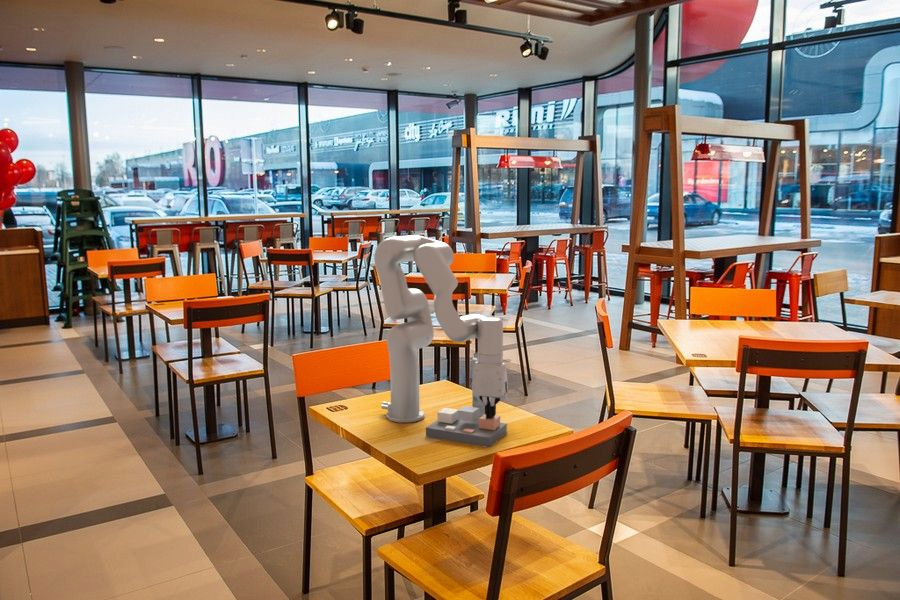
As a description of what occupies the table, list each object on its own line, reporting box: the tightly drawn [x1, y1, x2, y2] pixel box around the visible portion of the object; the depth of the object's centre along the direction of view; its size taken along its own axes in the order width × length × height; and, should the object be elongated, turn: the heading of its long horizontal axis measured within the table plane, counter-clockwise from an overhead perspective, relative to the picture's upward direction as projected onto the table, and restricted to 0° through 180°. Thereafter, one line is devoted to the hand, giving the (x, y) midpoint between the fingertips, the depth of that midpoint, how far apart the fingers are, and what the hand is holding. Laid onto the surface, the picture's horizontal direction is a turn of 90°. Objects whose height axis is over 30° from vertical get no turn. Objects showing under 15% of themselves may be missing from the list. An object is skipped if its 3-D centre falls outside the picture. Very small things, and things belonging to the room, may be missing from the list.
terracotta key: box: [479, 414, 501, 430], centre depth 210 cm, size 5×5×3 cm
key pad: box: [425, 419, 508, 448], centre depth 212 cm, size 21×14×4 cm, turn 64°
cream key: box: [436, 407, 459, 424], centre depth 216 cm, size 5×5×3 cm
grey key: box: [457, 405, 479, 422], centre depth 213 cm, size 5×5×3 cm
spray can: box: [471, 356, 491, 419], centre depth 228 cm, size 6×6×20 cm
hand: (490, 417), depth 210 cm, fingers closed
